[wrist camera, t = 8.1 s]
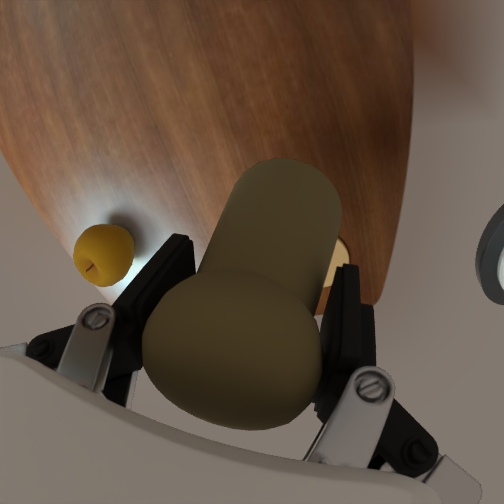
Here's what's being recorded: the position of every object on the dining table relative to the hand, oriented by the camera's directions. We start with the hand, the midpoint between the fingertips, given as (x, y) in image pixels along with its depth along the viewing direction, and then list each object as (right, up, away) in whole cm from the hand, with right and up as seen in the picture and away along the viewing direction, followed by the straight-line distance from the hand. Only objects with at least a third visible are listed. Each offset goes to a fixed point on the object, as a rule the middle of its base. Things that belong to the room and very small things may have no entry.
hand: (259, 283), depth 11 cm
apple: (-19, +4, +30) cm, 35 cm away
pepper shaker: (+1, +3, +5) cm, 6 cm away
